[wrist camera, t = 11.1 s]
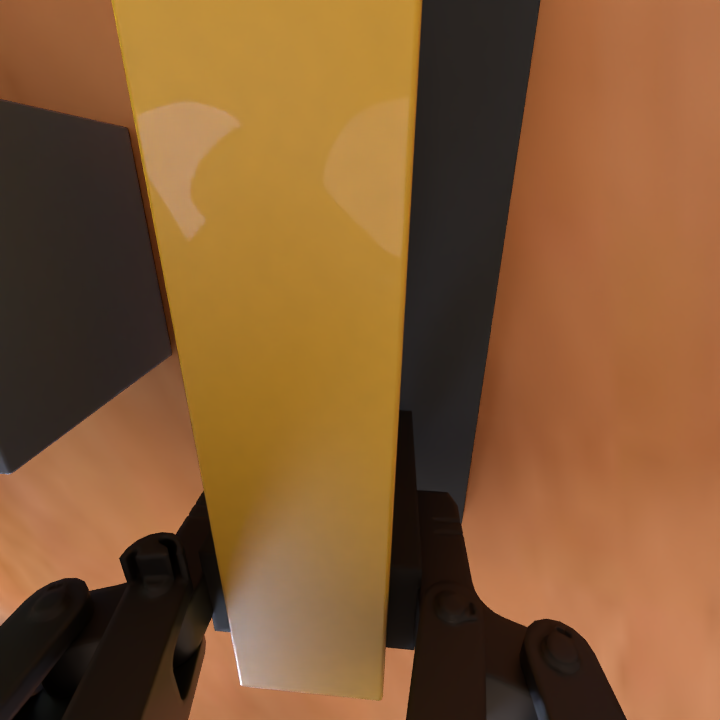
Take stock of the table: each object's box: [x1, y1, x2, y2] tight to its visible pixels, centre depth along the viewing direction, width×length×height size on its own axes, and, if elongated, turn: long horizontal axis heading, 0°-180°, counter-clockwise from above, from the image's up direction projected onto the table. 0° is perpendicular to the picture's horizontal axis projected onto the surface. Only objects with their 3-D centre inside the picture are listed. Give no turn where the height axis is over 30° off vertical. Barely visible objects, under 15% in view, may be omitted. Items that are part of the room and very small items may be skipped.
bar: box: [111, 0, 422, 701], centre depth 8 cm, size 18×4×4 cm, turn 179°
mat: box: [399, 0, 540, 524], centre depth 13 cm, size 22×10×1 cm, turn 179°
